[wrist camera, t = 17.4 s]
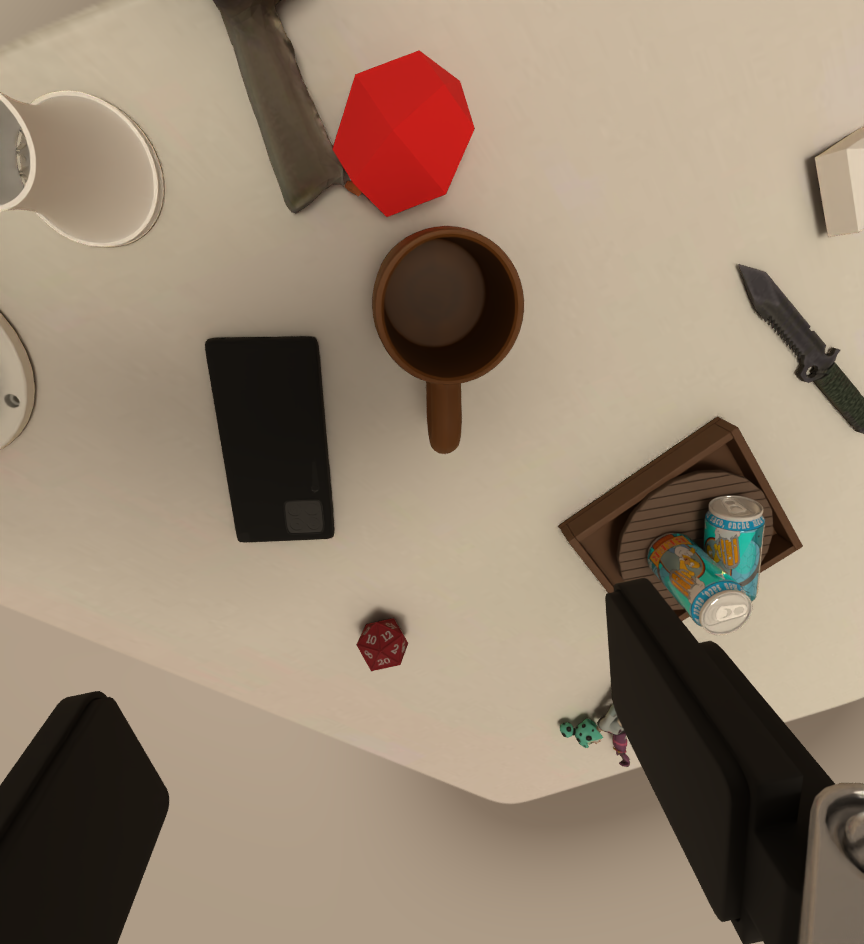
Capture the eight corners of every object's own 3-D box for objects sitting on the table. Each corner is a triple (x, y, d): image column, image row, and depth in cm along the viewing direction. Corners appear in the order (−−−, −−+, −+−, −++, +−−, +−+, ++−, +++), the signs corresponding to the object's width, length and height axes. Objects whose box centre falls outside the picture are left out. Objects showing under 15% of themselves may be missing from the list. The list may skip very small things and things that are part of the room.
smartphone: (200, 338, 34) (240, 541, 40) (196, 340, 33) (237, 547, 39) (317, 333, 35) (339, 534, 40) (316, 335, 34) (338, 540, 40)
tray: (634, 623, 46) (647, 642, 44) (558, 525, 42) (568, 541, 40) (781, 530, 44) (803, 546, 42) (717, 416, 39) (738, 426, 37)
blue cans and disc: (614, 485, 38) (669, 541, 31) (777, 456, 38) (871, 504, 31) (617, 618, 43) (665, 695, 35) (762, 592, 43) (840, 662, 36)
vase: (109, 69, 28) (-23, -14, 19) (190, 212, 31) (110, 199, 22) (-9, 133, 29) (-190, 83, 20) (81, 268, 32) (-40, 278, 23)
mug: (486, 415, 38) (516, 465, 29) (379, 417, 37) (377, 469, 29) (494, 229, 33) (533, 225, 24) (371, 229, 33) (367, 224, 24)
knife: (896, 415, 40) (862, 445, 40) (886, 412, 40) (853, 441, 41) (759, 246, 34) (722, 284, 35) (750, 246, 35) (715, 284, 36)
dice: (367, 652, 45) (365, 688, 42) (354, 611, 44) (351, 644, 40) (410, 643, 45) (413, 678, 42) (399, 601, 44) (400, 634, 40)
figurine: (613, 778, 51) (597, 742, 54) (746, 695, 47) (721, 661, 49) (571, 762, 47) (556, 724, 50) (712, 671, 43) (686, 635, 46)
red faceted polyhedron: (465, 95, 31) (369, 196, 34) (396, -10, 26) (289, 123, 29) (519, 165, 28) (409, 268, 32) (455, 66, 23) (329, 203, 26)
